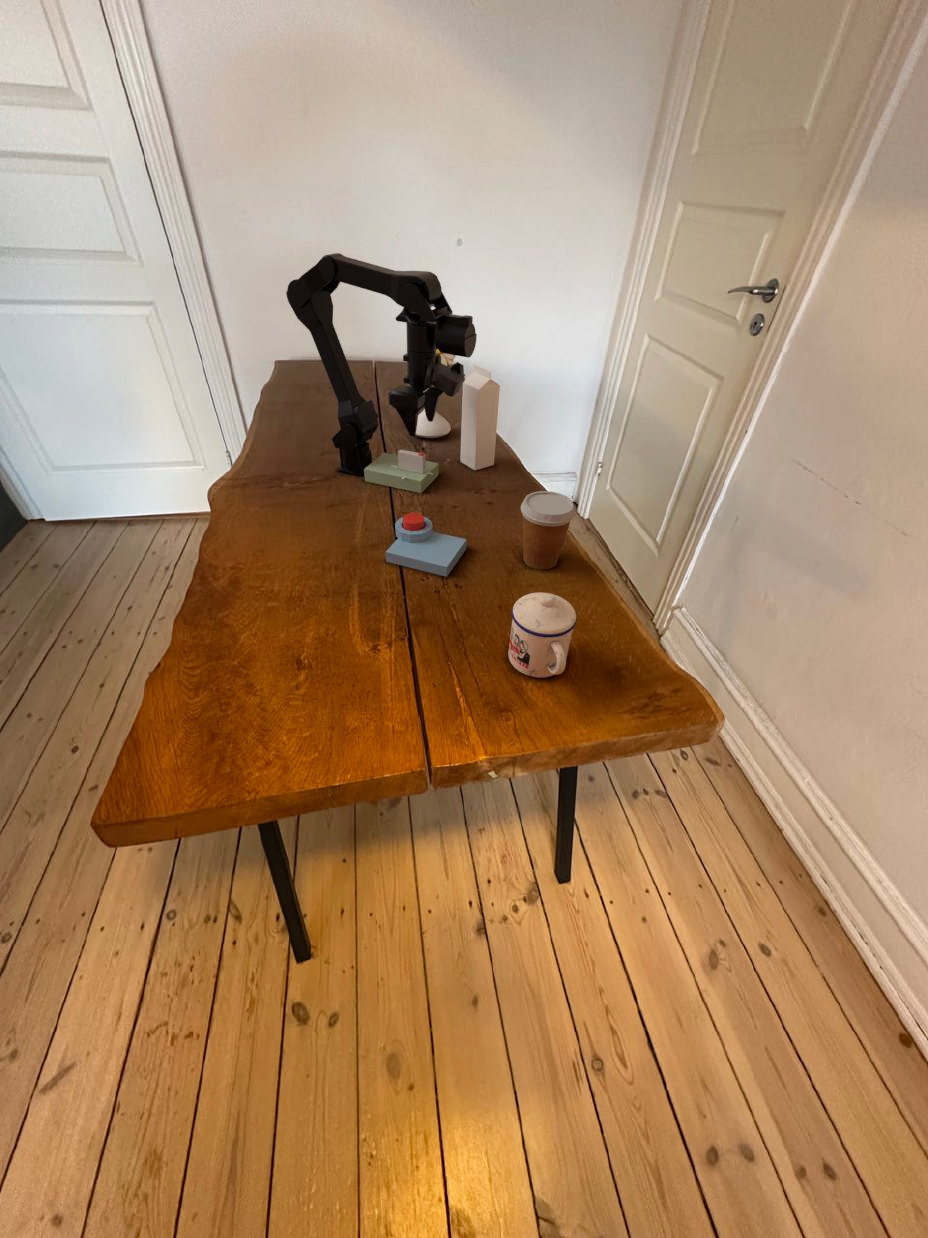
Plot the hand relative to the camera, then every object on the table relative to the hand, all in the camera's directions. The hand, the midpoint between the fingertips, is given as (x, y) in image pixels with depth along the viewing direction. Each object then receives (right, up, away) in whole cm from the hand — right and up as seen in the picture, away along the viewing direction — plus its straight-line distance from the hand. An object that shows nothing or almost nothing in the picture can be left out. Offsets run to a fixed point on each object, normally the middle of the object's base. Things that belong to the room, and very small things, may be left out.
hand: (421, 428), depth 116 cm
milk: (+12, -2, +18) cm, 22 cm away
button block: (+2, -28, -13) cm, 31 cm away
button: (0, -23, -13) cm, 26 cm away
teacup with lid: (+20, -47, -35) cm, 62 cm away
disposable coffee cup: (+23, -30, -13) cm, 40 cm away
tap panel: (-5, -8, +10) cm, 14 cm away
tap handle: (-3, -7, +7) cm, 10 cm away
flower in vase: (0, +9, +31) cm, 32 cm away
